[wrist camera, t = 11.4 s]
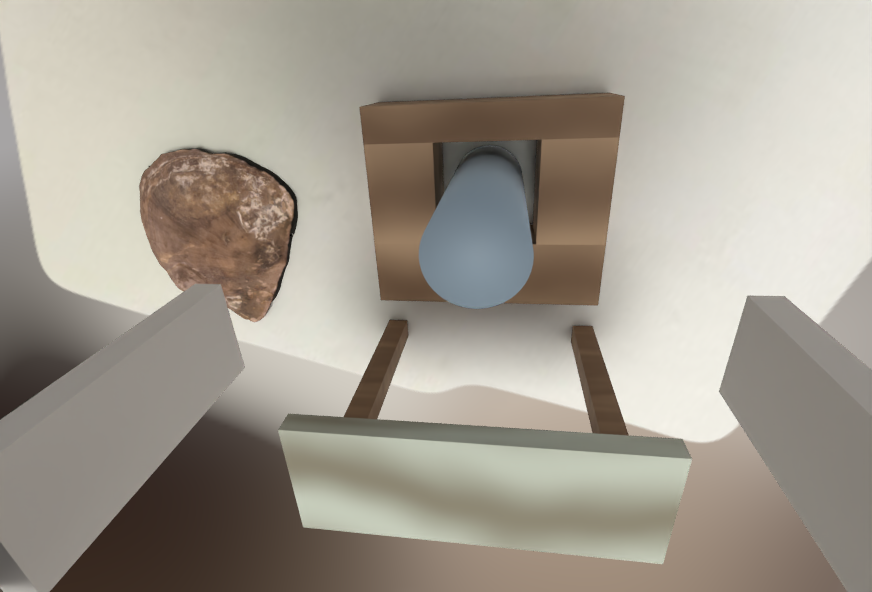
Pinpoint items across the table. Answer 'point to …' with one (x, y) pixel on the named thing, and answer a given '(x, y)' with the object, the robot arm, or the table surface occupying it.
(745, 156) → the table surface
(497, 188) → the peg
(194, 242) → the shell
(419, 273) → the socket station
